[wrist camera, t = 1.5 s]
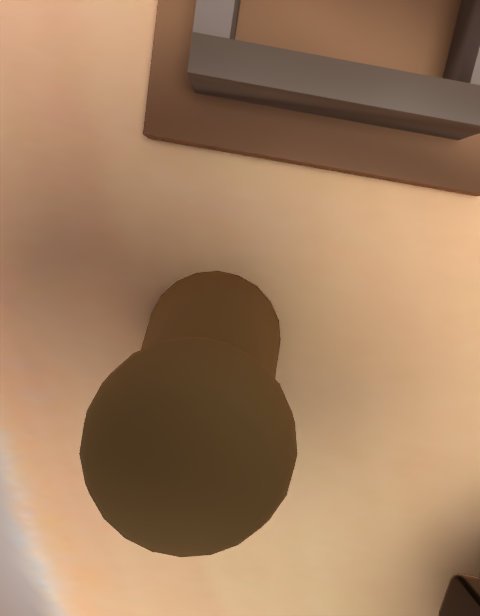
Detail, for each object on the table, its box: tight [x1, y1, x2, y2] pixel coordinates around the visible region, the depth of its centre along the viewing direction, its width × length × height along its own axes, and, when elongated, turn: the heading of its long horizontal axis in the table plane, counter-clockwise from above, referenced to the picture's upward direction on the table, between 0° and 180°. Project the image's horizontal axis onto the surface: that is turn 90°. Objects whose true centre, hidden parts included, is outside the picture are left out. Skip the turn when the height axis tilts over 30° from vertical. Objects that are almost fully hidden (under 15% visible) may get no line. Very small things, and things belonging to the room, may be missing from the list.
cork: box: [79, 271, 297, 557], centre depth 14 cm, size 6×6×11 cm
